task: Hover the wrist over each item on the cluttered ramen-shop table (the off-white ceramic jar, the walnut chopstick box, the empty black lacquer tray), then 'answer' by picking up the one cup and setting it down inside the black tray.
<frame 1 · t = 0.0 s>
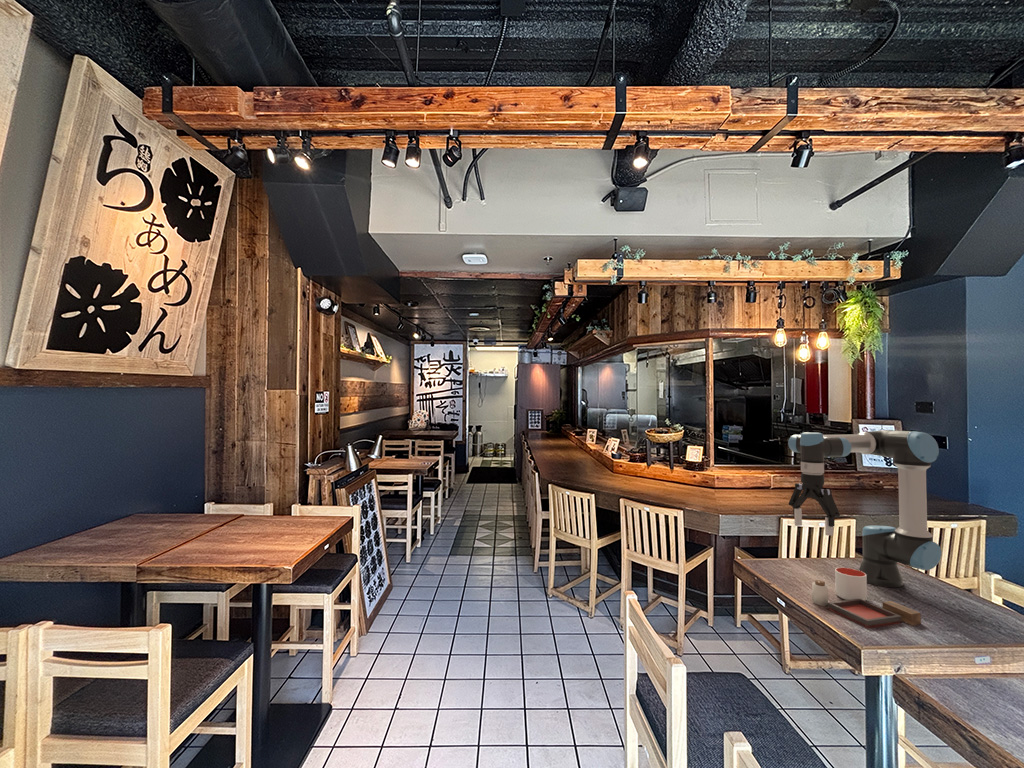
hand: (813, 530, 178), 28 cm above the table, fingers open, 13 cm apart
tray: (863, 615, 169), on the table
ceramic jar: (820, 603, 179), on the table
cup: (851, 598, 184), on the table
chopstick box: (901, 618, 167), on the table
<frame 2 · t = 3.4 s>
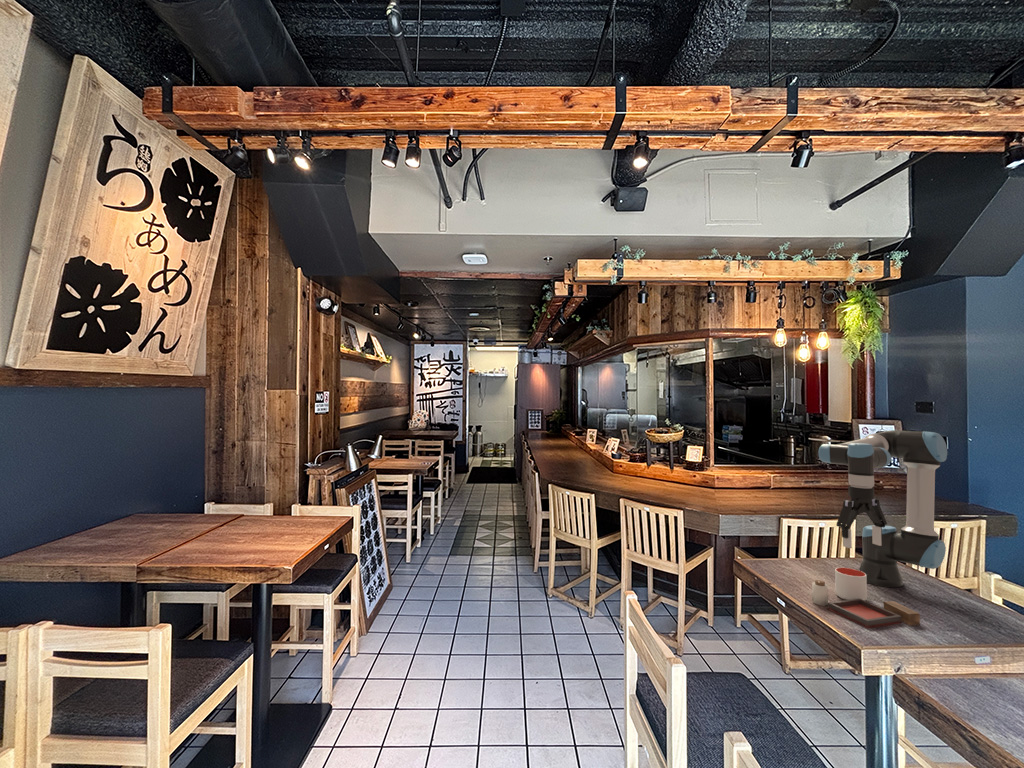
hand: (862, 546, 169), 25 cm above the table, fingers open, 13 cm apart
nothing on the table moved.
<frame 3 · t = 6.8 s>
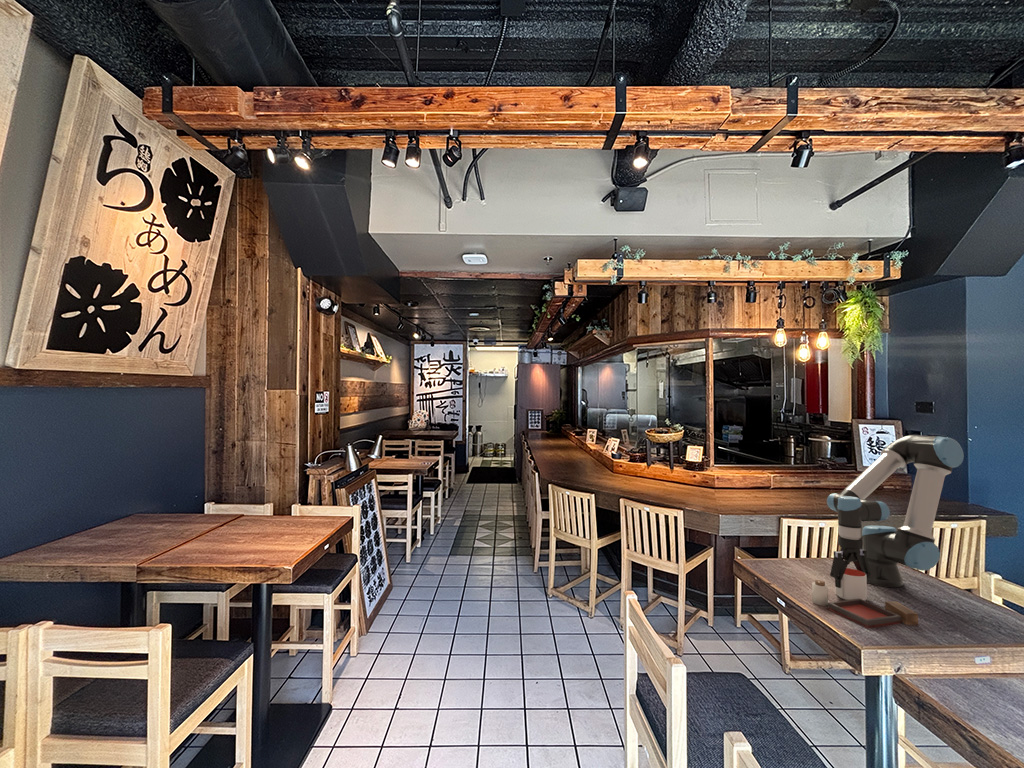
hand: (850, 594, 184), 1 cm above the table, fingers closed on cup, 10 cm apart
cup: (851, 598, 184), on the table, touching gripper
everything else where it was.
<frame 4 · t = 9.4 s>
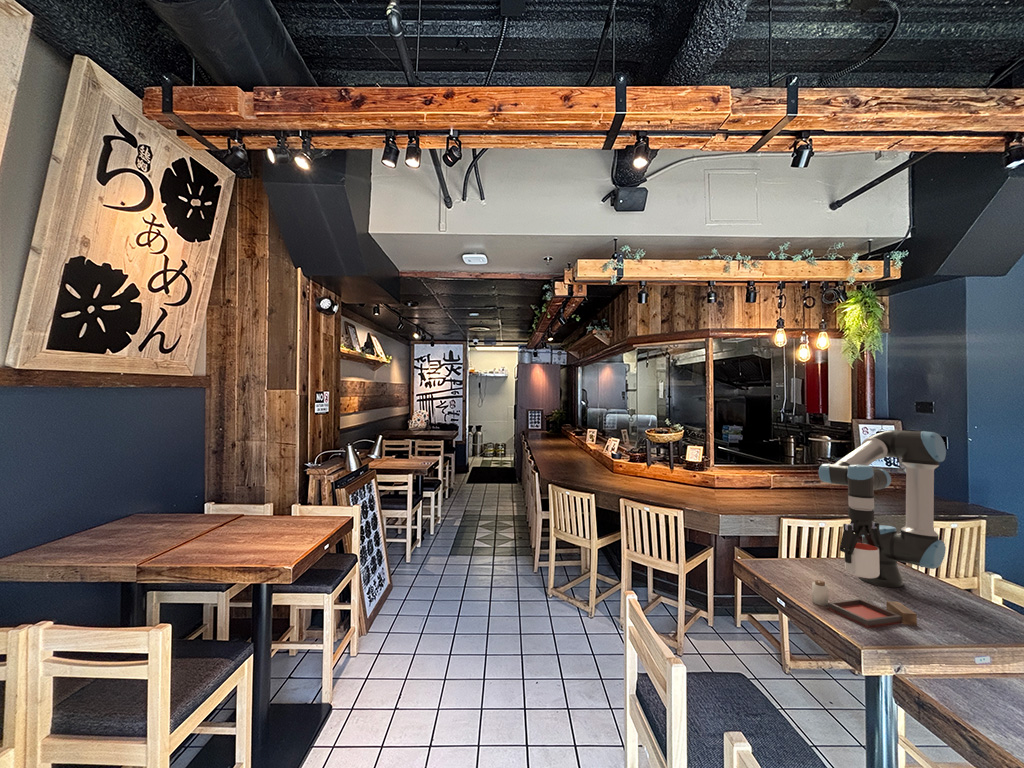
hand: (862, 570, 169), 16 cm above the table, fingers closed on cup, 10 cm apart
cup: (862, 575, 169), point 14 cm above the table, touching gripper
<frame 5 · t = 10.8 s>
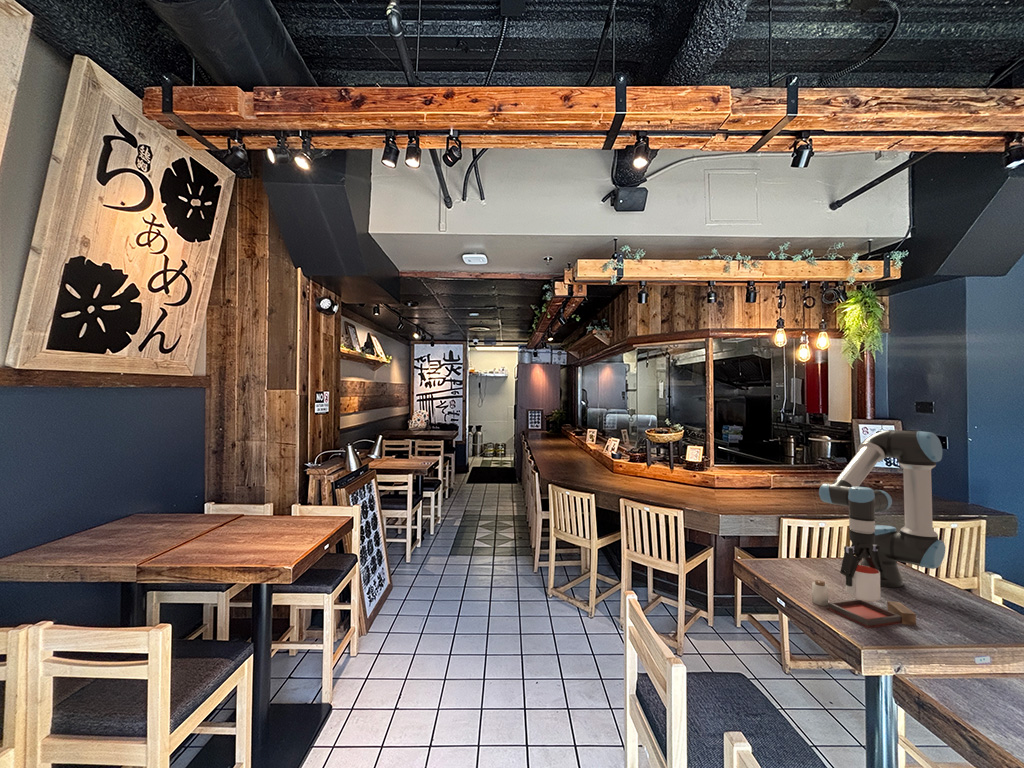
hand: (862, 593, 169), 8 cm above the table, fingers closed on cup, 10 cm apart
cup: (862, 597, 169), point 6 cm above the table, touching gripper
when the fingers open (4 cm above the table, at t = 12.1 s): cup drops 2 cm, resting on tray.
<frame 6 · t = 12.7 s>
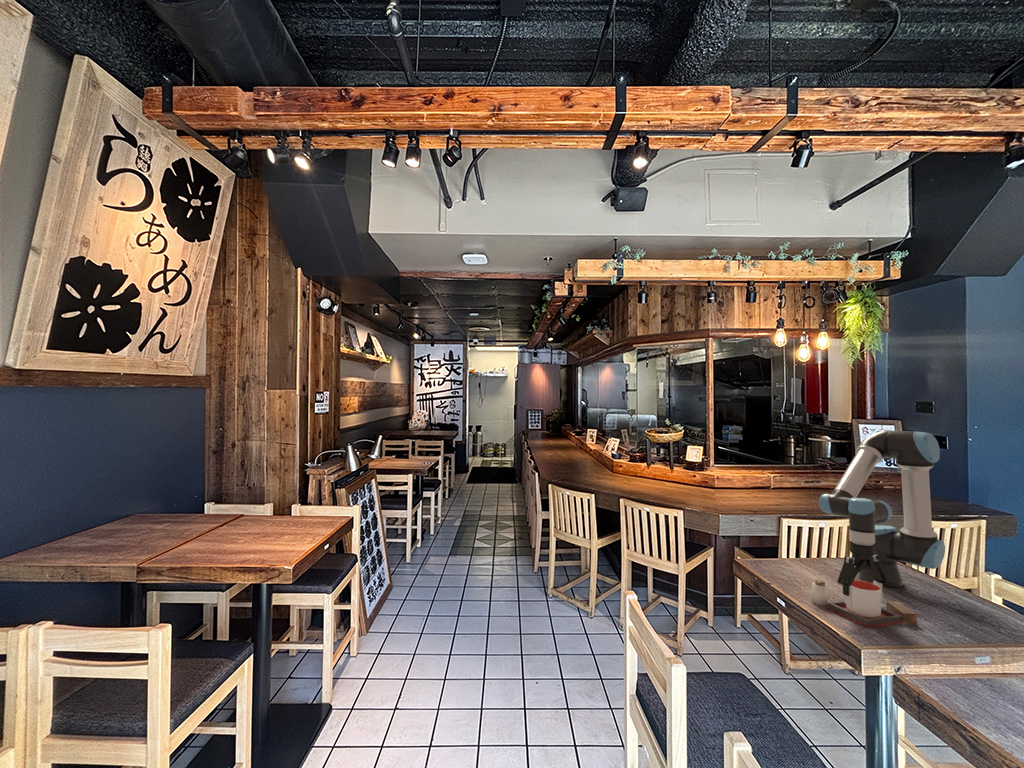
hand: (863, 602, 169), 5 cm above the table, fingers open, 13 cm apart
cup: (863, 614, 169), point 1 cm above the table, touching tray
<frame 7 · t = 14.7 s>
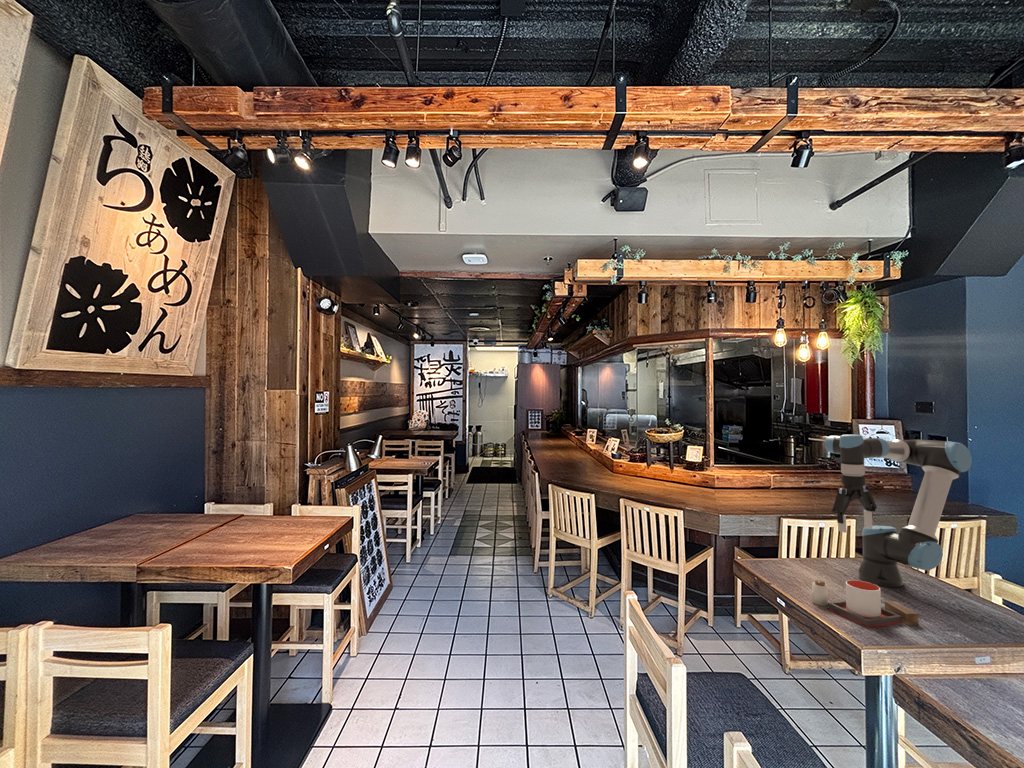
hand: (855, 529, 183), 27 cm above the table, fingers open, 13 cm apart
nothing on the table moved.
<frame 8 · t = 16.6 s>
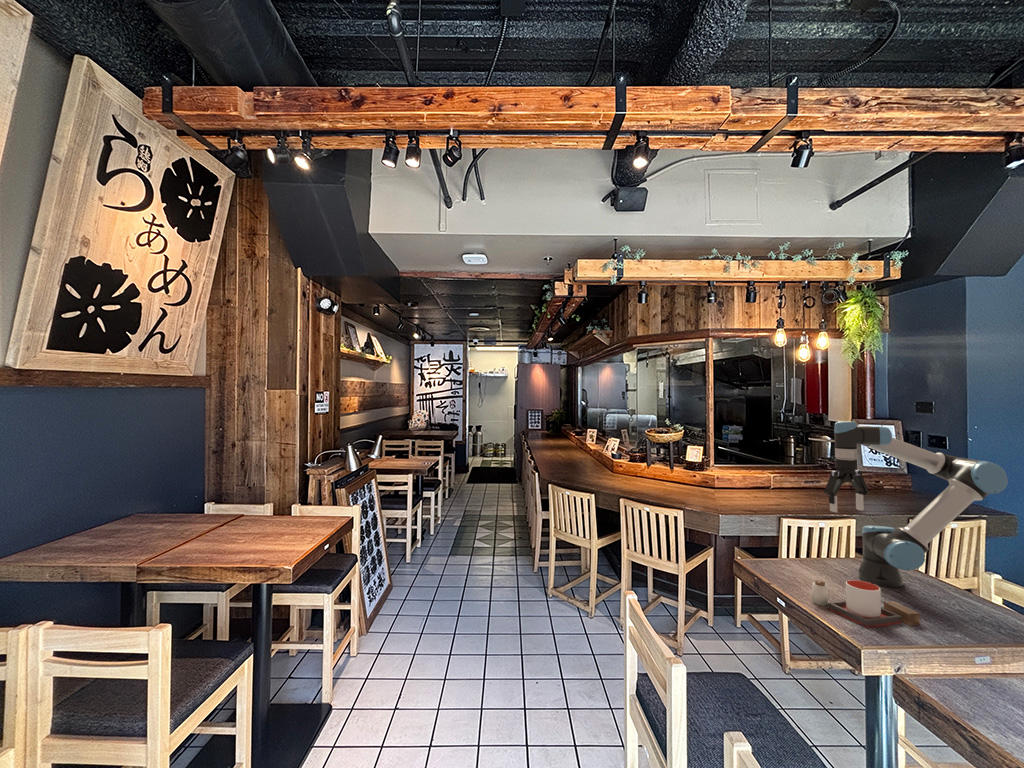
hand: (846, 510, 194), 32 cm above the table, fingers open, 13 cm apart
nothing on the table moved.
at the end: cup 0.1 cm from the tray (horizontally); cup point 0.6 cm above the table; cup tilted 0° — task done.
